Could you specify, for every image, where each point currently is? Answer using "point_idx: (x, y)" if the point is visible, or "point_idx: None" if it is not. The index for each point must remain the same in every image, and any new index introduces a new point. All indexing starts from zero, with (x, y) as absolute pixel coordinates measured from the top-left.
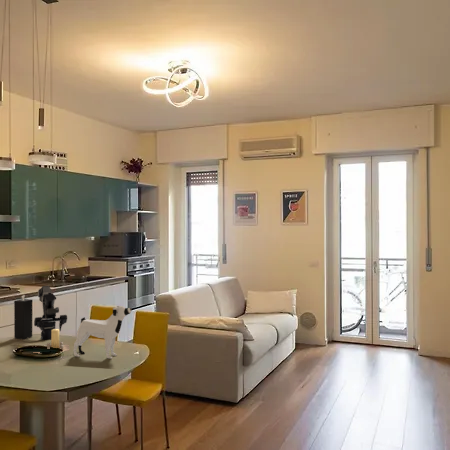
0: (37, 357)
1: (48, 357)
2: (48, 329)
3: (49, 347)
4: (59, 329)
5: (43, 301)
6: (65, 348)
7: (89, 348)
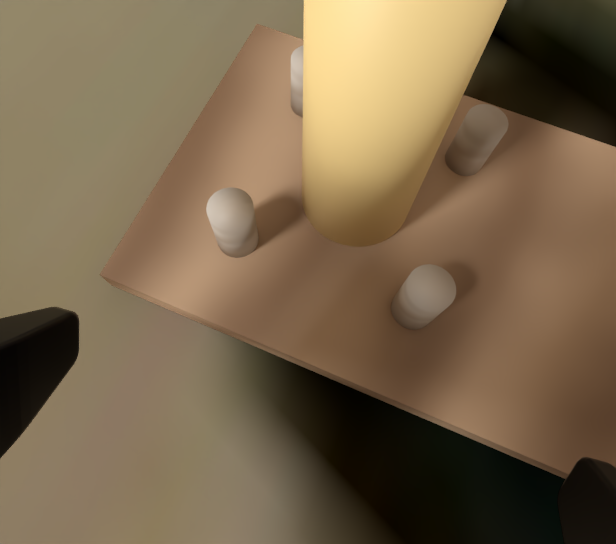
0: (608, 101)
1: (507, 33)
2: None
3: (476, 112)
4: (7, 436)
5: None
6: (249, 118)
7: (7, 35)
